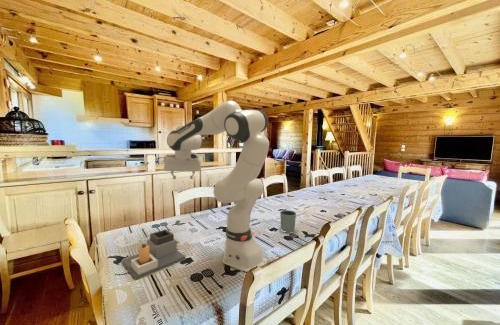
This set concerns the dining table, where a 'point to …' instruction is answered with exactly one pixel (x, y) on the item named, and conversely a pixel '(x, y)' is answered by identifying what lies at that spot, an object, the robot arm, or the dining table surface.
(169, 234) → the grey socket base
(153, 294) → the dining table surface
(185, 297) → the dining table surface
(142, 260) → the plug
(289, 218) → the grey cup
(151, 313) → the dining table surface
